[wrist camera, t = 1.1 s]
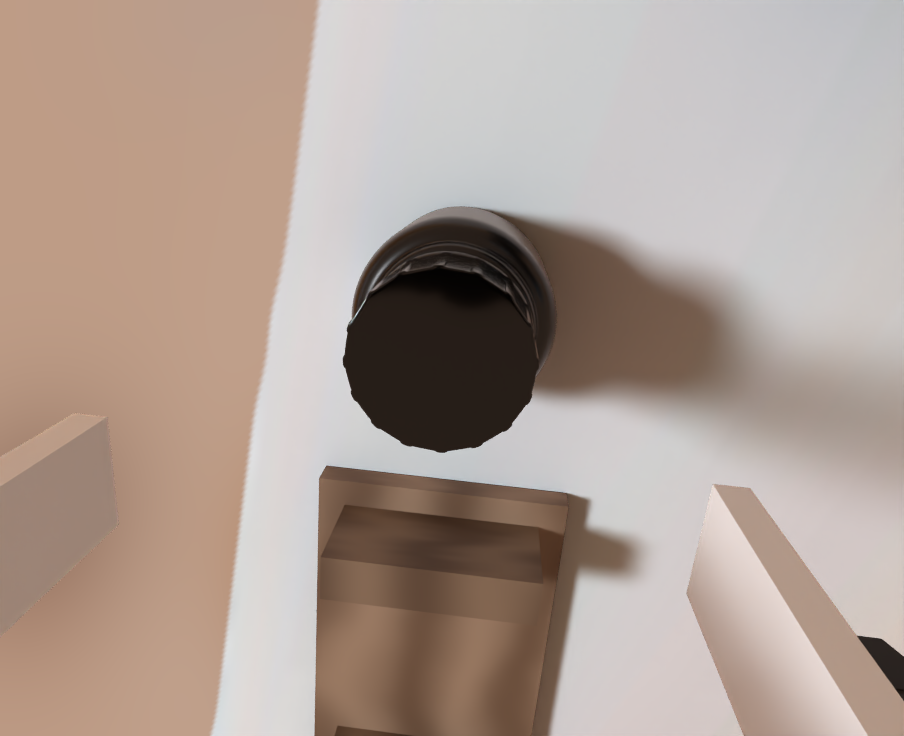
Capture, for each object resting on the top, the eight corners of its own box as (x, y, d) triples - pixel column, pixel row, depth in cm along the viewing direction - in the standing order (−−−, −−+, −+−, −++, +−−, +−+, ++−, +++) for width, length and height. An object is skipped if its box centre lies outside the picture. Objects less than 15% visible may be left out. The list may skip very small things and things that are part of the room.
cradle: (566, 493, 36) (578, 561, 30) (520, 775, 43) (523, 877, 37) (326, 465, 37) (290, 527, 31) (320, 748, 44) (290, 843, 38)
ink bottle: (339, 298, 34) (255, 369, 22) (441, 162, 31) (405, 165, 20) (480, 408, 35) (468, 528, 24) (589, 287, 32) (634, 356, 21)
